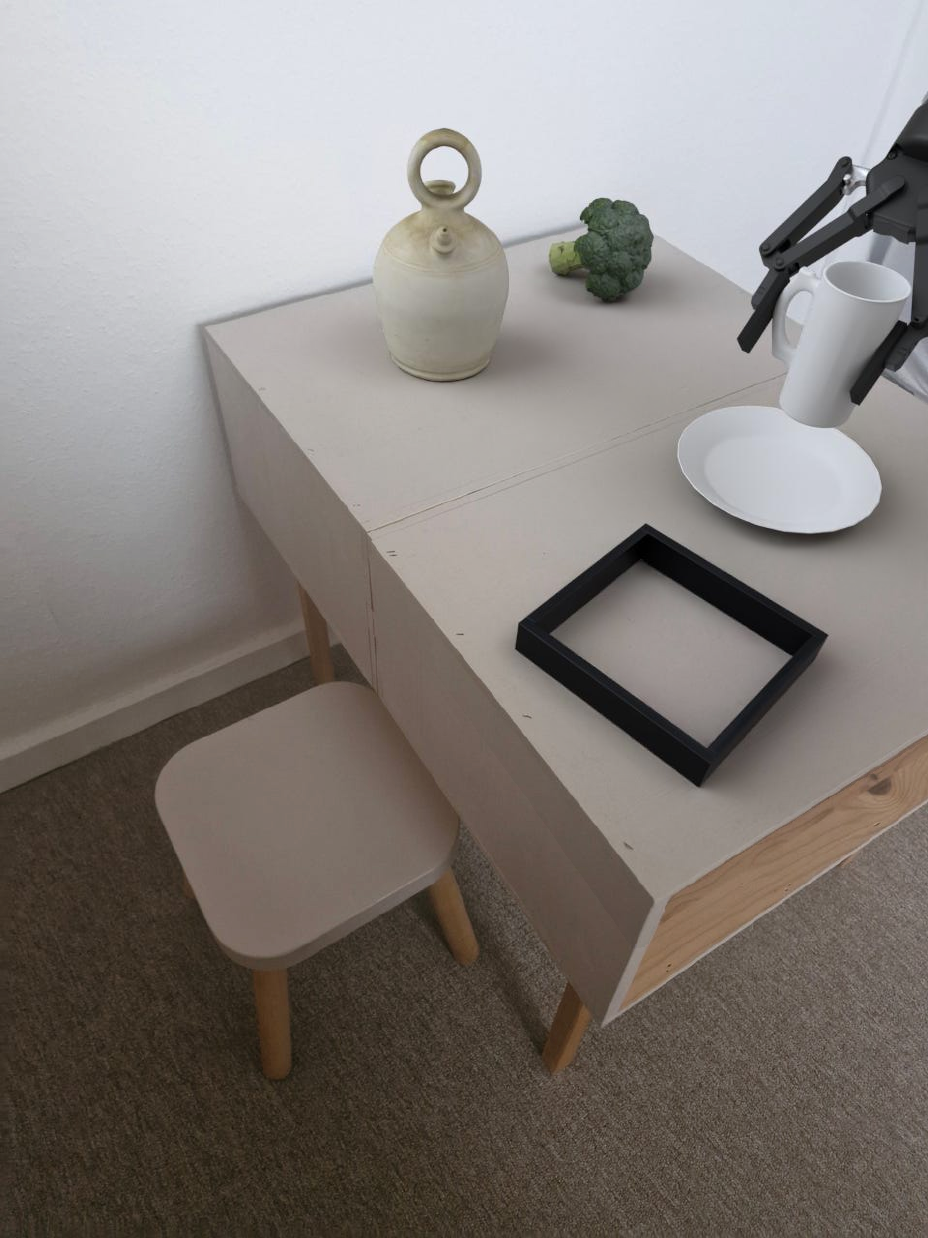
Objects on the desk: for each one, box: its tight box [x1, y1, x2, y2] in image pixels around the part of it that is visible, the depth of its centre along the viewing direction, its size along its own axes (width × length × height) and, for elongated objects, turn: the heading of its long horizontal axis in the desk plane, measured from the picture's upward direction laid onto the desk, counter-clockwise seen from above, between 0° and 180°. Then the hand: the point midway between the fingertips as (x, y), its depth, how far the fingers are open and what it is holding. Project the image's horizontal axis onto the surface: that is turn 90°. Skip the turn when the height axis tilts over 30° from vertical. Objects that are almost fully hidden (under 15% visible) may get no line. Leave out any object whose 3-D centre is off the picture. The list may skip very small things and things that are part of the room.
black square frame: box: [514, 522, 829, 788], centre depth 72 cm, size 19×18×4 cm
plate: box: [676, 405, 883, 535], centre depth 89 cm, size 21×21×2 cm
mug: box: [771, 259, 913, 428], centre depth 72 cm, size 10×7×12 cm, turn 41°
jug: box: [372, 127, 510, 382], centre depth 94 cm, size 15×16×25 cm
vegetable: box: [548, 197, 655, 302], centre depth 113 cm, size 12×13×15 cm
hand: (796, 371), depth 72 cm, fingers closed on mug, 10 cm apart
